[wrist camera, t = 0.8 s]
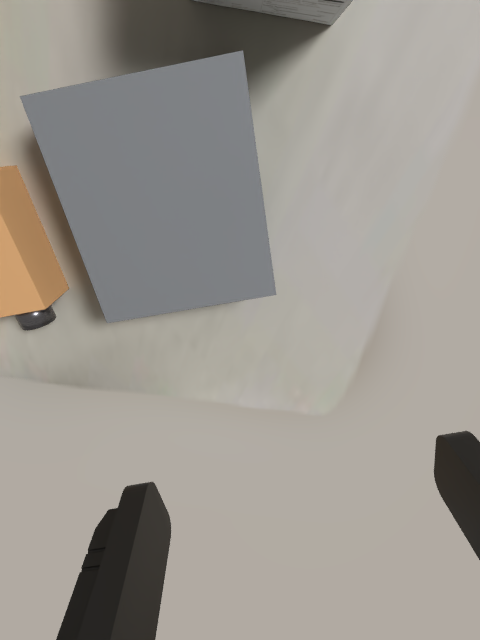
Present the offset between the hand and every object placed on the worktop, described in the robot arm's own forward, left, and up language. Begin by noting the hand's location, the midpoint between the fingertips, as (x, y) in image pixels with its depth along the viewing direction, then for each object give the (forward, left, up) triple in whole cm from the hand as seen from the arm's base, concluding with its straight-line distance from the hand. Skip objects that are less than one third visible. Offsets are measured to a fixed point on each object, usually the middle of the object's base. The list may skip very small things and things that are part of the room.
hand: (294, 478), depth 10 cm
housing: (-4, -20, -25) cm, 33 cm away
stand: (-6, -6, -25) cm, 26 cm away
